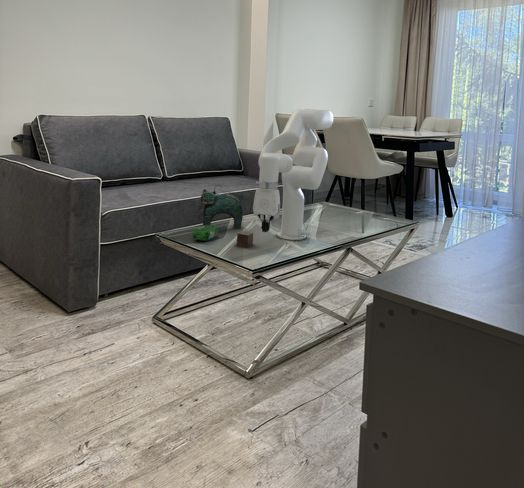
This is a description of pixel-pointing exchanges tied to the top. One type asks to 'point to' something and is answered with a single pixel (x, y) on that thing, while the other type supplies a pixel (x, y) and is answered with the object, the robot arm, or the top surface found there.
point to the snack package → (205, 232)
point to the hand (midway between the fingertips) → (265, 231)
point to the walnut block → (245, 239)
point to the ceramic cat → (221, 206)
